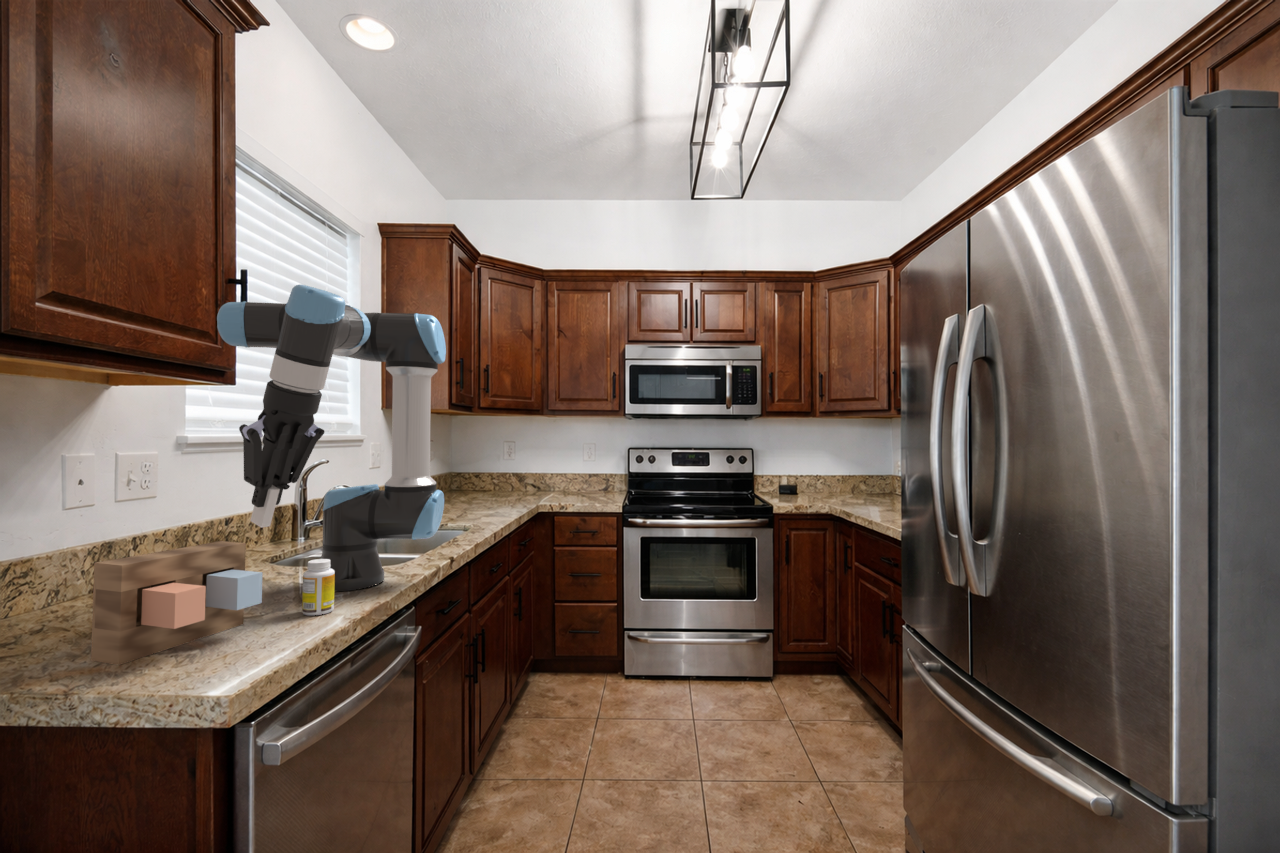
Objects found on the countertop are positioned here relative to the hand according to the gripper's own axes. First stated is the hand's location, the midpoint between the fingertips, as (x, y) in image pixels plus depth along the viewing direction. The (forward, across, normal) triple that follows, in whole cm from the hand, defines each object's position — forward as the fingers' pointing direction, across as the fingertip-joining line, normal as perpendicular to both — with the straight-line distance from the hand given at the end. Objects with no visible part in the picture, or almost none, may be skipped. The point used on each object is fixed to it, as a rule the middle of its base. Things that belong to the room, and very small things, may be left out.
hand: (260, 523), depth 92 cm
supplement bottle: (+24, -19, -2) cm, 30 cm away
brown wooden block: (+26, +2, -10) cm, 28 cm away
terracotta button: (+18, +6, -5) cm, 20 cm away
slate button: (+19, -4, -6) cm, 20 cm away
